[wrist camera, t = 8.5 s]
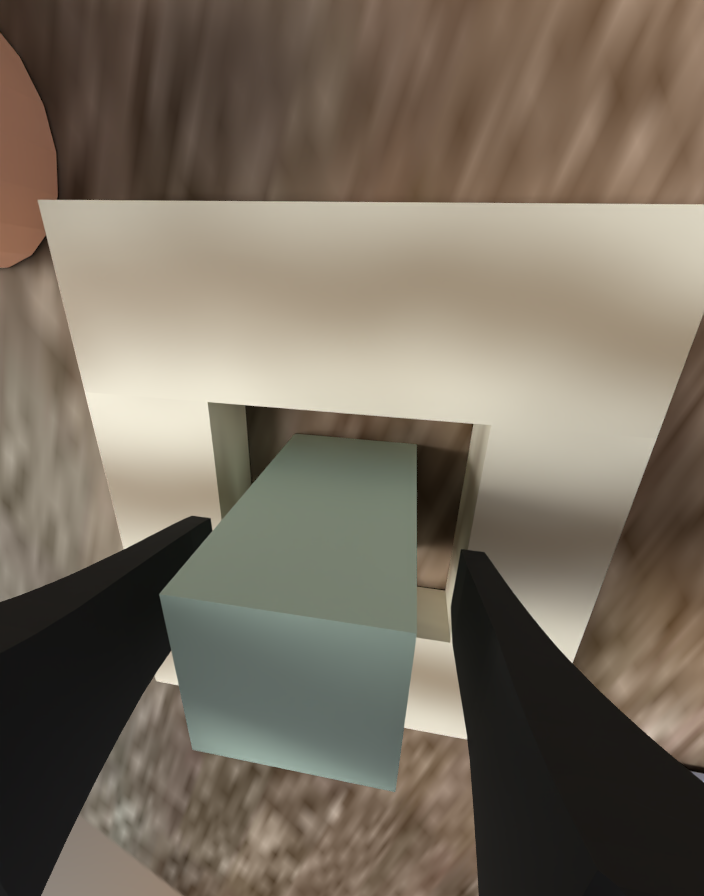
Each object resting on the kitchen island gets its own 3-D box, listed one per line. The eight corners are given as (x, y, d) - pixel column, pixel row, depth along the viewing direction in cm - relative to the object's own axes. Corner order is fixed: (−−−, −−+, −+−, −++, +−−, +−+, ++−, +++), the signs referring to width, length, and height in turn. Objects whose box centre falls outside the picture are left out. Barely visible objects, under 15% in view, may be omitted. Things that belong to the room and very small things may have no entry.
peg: (405, 547, 15) (395, 792, 8) (297, 533, 16) (192, 749, 8) (416, 444, 13) (416, 633, 6) (295, 433, 14) (158, 594, 7)
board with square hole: (522, 690, 17) (538, 753, 15) (187, 633, 19) (156, 681, 17) (668, 224, 10) (743, 204, 8) (109, 216, 12) (37, 199, 10)
